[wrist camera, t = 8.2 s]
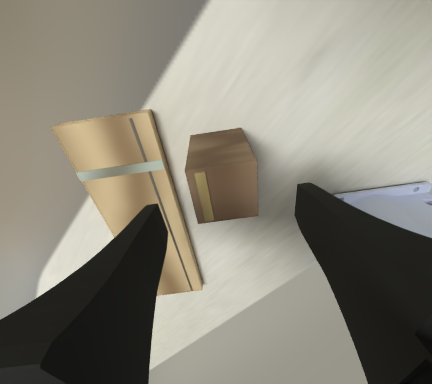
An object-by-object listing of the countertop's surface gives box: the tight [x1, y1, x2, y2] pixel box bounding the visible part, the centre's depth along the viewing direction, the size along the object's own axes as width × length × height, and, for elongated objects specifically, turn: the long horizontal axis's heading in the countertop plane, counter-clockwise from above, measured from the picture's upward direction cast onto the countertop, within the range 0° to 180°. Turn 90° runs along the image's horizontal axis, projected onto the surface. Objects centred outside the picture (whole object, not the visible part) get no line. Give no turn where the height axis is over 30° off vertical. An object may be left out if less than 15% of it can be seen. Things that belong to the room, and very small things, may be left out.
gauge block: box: [185, 128, 258, 224], centre depth 15 cm, size 4×4×6 cm
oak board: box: [51, 109, 202, 296], centre depth 21 cm, size 7×22×1 cm, turn 8°
